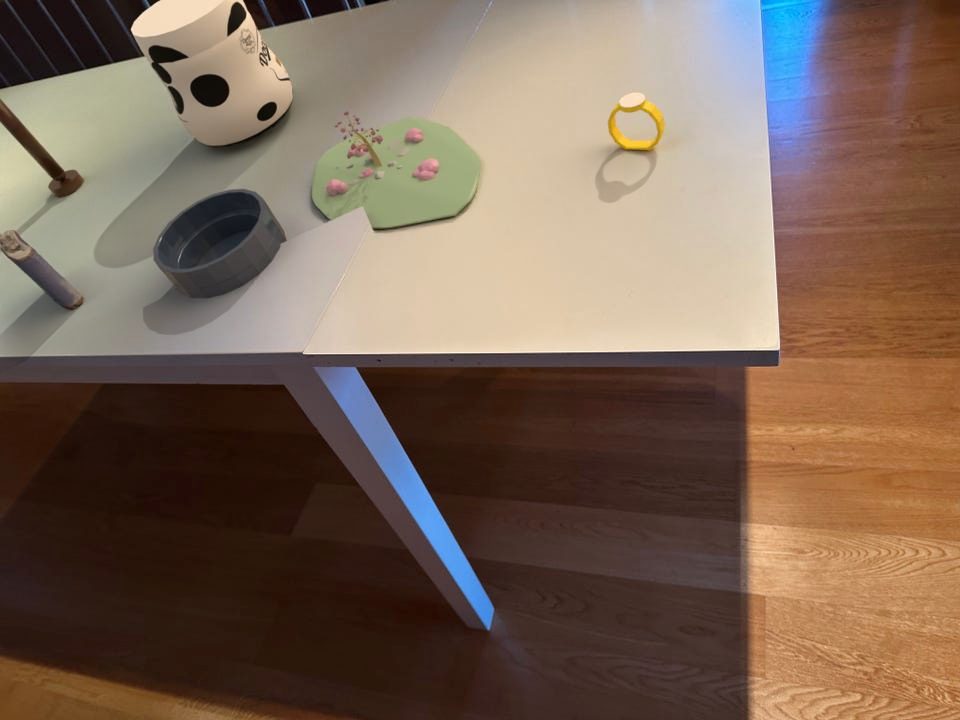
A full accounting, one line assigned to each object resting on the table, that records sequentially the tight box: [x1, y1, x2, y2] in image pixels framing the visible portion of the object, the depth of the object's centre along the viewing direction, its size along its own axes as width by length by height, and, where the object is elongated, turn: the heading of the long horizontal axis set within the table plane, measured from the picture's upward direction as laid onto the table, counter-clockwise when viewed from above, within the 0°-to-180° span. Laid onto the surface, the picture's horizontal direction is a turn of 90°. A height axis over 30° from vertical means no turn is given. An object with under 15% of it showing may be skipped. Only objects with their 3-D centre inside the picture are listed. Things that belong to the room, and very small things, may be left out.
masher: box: [0, 98, 85, 198], centre depth 100 cm, size 5×5×20 cm
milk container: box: [130, 0, 294, 148], centre depth 97 cm, size 17×17×18 cm
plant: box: [311, 110, 482, 230], centre depth 81 cm, size 25×21×9 cm
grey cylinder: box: [0, 229, 84, 310], centre depth 84 cm, size 9×3×11 cm, turn 47°
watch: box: [607, 92, 666, 152], centre depth 73 cm, size 6×3×6 cm, turn 61°
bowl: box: [152, 188, 288, 299], centre depth 79 cm, size 14×14×6 cm
